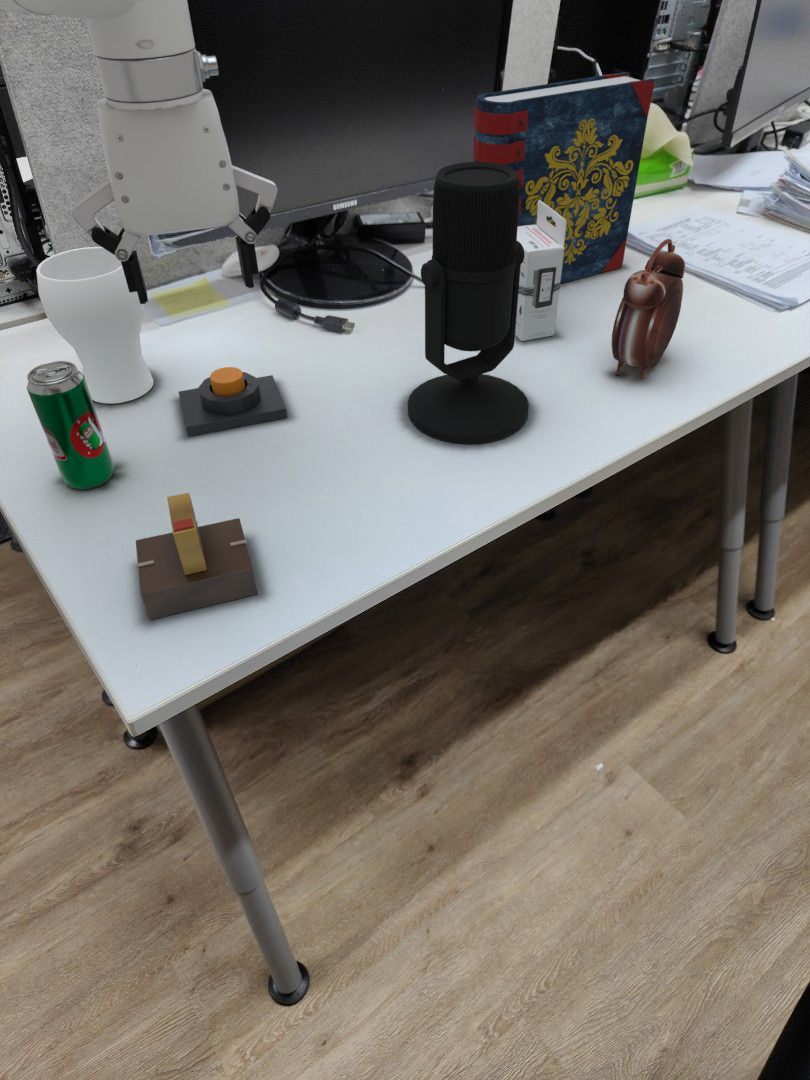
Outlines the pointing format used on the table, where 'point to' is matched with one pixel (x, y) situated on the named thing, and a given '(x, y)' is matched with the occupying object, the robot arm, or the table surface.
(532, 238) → the ink box
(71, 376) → the soda can
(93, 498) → the table surface
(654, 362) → the alarm clock
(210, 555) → the plate
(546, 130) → the book
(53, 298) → the cup
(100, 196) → the robot arm
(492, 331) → the microphone
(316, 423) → the table surface
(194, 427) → the block
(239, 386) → the bell button
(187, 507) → the lock knob
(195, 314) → the table surface
